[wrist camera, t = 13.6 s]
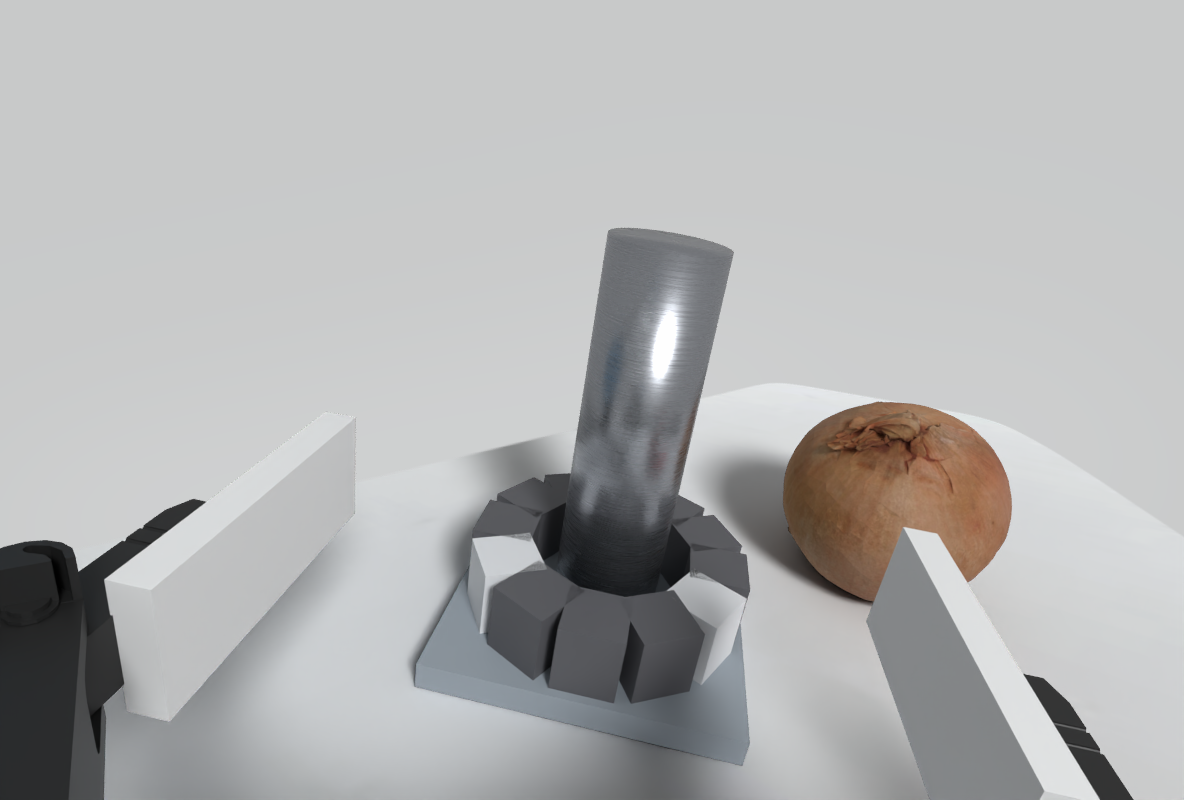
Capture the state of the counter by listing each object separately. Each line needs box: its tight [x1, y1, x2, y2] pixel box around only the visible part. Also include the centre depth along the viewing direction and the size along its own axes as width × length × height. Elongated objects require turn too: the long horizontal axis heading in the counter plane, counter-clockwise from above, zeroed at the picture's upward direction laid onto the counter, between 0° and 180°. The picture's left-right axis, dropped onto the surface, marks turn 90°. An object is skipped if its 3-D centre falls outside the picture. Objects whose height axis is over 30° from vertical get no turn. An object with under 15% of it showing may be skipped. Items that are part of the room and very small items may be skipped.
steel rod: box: [556, 228, 734, 597], centre depth 24 cm, size 4×4×14 cm
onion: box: [783, 402, 1012, 602], centre depth 30 cm, size 10×9×10 cm
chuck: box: [415, 473, 750, 765], centre depth 26 cm, size 11×11×4 cm
